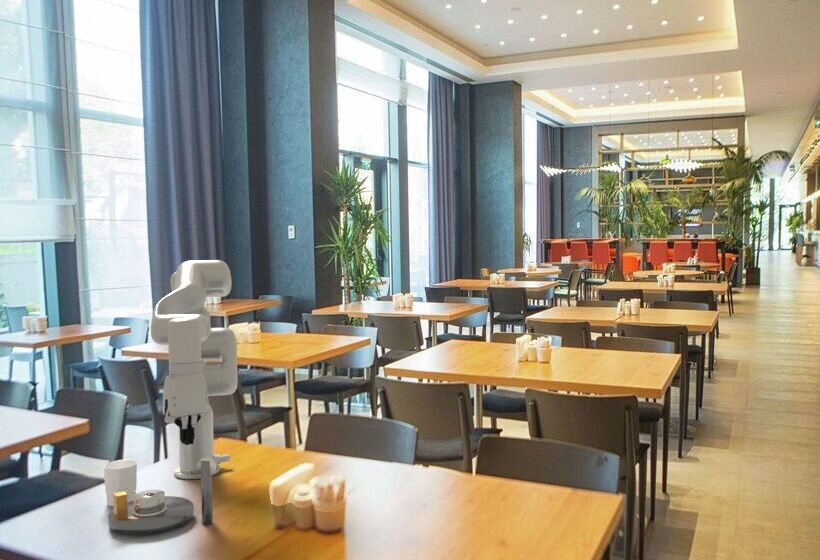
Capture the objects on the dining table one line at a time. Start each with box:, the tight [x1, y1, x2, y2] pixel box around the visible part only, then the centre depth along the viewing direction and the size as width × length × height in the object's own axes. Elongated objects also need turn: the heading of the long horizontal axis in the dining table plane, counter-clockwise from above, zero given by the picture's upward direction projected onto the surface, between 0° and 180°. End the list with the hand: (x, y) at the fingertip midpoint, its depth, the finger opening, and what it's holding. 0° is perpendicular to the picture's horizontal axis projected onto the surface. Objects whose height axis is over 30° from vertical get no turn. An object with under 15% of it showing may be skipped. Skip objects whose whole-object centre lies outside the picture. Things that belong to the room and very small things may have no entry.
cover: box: [132, 489, 167, 517], centre depth 168 cm, size 8×8×4 cm
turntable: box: [107, 491, 195, 535], centre depth 169 cm, size 19×19×7 cm
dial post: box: [190, 457, 216, 526], centre depth 168 cm, size 6×2×16 cm, turn 86°
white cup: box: [103, 459, 138, 508], centre depth 182 cm, size 8×8×10 cm
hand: (187, 443), depth 174 cm, fingers closed
